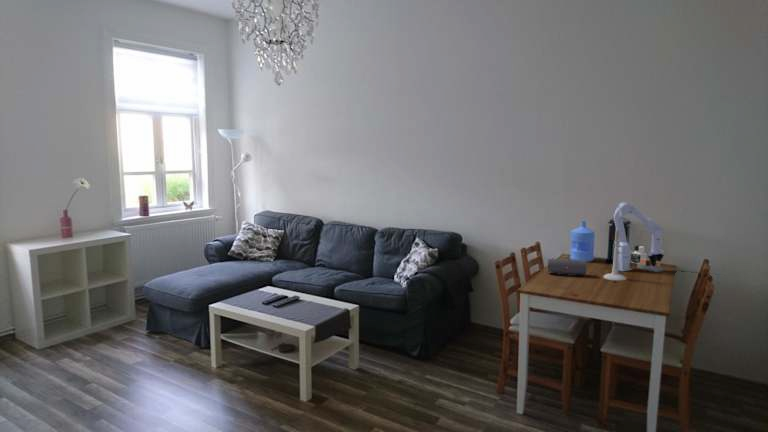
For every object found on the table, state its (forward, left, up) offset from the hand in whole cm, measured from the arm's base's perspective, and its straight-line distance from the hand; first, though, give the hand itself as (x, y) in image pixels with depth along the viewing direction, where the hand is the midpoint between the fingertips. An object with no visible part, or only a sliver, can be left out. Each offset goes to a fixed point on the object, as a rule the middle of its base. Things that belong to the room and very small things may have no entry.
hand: (655, 265), depth 321 cm
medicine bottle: (+11, +19, -3) cm, 23 cm away
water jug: (-14, +46, -3) cm, 48 cm away
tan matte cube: (0, 0, -2) cm, 2 cm away
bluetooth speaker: (-58, +22, -3) cm, 62 cm away
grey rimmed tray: (0, +3, -3) cm, 5 cm away
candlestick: (-40, 0, -3) cm, 40 cm away
